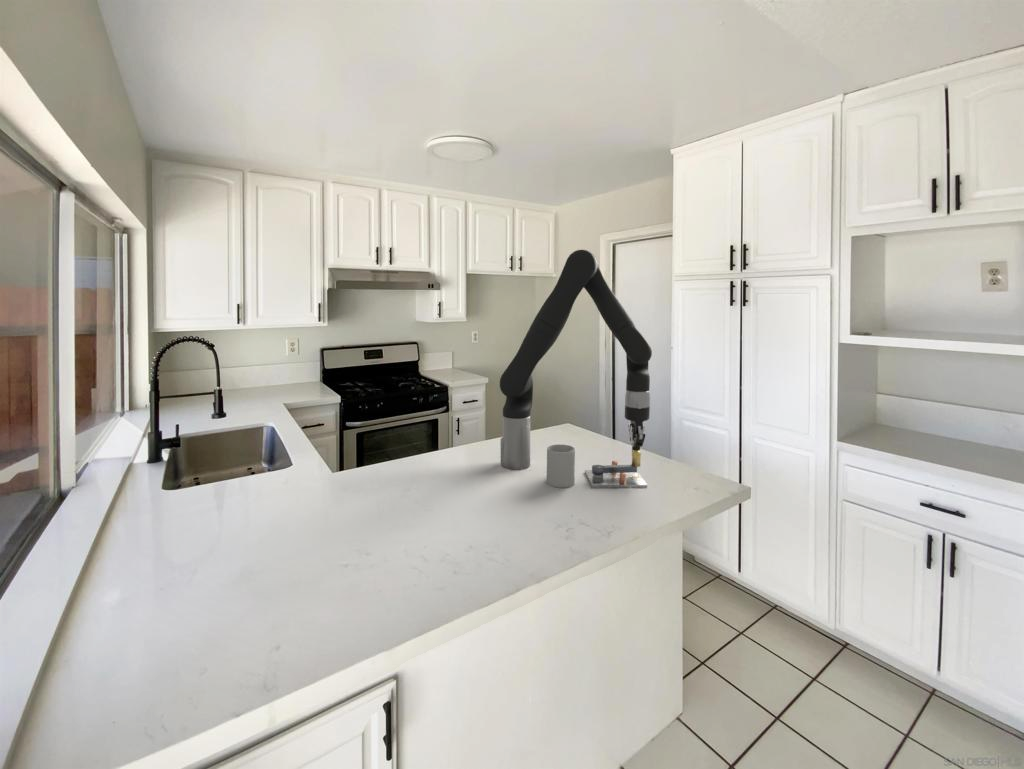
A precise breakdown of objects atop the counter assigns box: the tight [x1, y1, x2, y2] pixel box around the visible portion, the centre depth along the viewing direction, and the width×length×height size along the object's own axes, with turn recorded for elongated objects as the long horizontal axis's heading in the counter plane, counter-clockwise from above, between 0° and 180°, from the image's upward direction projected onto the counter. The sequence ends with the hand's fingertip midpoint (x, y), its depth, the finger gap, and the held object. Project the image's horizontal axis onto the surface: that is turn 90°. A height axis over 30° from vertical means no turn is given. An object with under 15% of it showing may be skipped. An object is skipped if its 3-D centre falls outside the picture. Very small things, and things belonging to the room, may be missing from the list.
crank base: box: [584, 460, 648, 489], centre depth 151 cm, size 16×13×4 cm
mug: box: [546, 443, 576, 489], centre depth 149 cm, size 12×8×11 cm
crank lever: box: [591, 449, 642, 475], centre depth 150 cm, size 15×4×7 cm, turn 95°
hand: (635, 457), depth 155 cm, fingers closed
